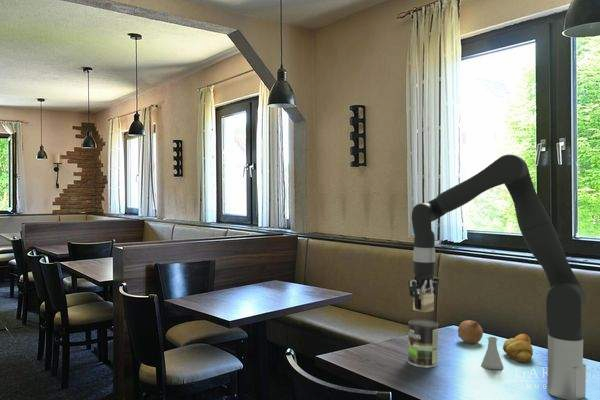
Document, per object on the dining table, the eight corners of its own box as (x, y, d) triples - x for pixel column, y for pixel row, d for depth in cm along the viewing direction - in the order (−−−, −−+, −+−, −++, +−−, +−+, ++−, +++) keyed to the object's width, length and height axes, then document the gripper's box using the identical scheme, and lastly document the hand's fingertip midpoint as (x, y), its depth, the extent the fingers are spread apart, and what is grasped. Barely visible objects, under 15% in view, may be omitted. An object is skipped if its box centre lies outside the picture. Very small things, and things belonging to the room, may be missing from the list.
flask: (505, 371, 164) (505, 341, 164) (482, 369, 166) (483, 340, 166) (501, 363, 171) (501, 335, 171) (479, 362, 173) (479, 334, 173)
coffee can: (420, 369, 165) (420, 328, 165) (401, 360, 174) (402, 320, 174) (444, 365, 169) (444, 324, 169) (424, 356, 179) (425, 317, 179)
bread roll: (536, 365, 170) (537, 342, 170) (507, 363, 172) (507, 340, 172) (528, 353, 183) (529, 332, 183) (500, 351, 185) (501, 330, 185)
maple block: (433, 310, 171) (433, 293, 171) (424, 312, 168) (424, 295, 168) (422, 307, 175) (422, 291, 175) (412, 309, 172) (413, 292, 172)
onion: (478, 352, 192) (486, 333, 188) (454, 344, 195) (462, 324, 190) (478, 337, 201) (486, 318, 196) (455, 329, 203) (462, 311, 198)
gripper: (418, 262, 164) (417, 313, 164) (446, 259, 172) (445, 307, 173) (401, 260, 170) (401, 308, 171) (429, 257, 178) (428, 303, 179)
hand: (423, 308), depth 172 cm, fingers closed on maple block, 5 cm apart
